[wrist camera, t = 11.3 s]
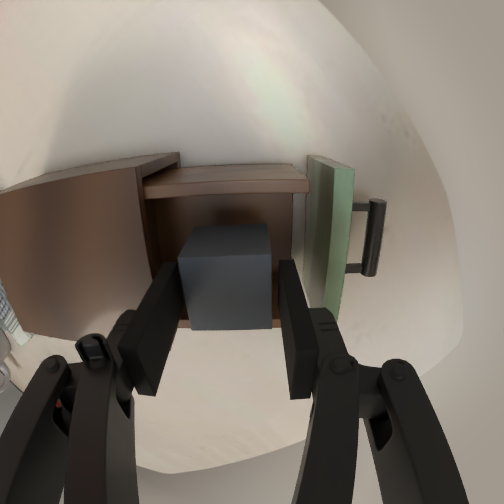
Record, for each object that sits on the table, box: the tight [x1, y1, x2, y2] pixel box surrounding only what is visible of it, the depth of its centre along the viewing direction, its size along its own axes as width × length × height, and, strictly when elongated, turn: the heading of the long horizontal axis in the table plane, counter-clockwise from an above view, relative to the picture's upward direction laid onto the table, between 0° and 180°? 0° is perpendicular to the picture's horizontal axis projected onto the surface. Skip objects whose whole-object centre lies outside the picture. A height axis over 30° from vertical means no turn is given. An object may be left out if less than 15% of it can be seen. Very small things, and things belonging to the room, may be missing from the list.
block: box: [177, 223, 273, 330], centre depth 16 cm, size 4×4×4 cm
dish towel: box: [0, 279, 34, 347], centre depth 26 cm, size 19×18×3 cm
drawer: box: [142, 155, 387, 328], centre depth 20 cm, size 19×11×8 cm, turn 91°
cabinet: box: [0, 152, 180, 350], centre depth 20 cm, size 16×13×10 cm
